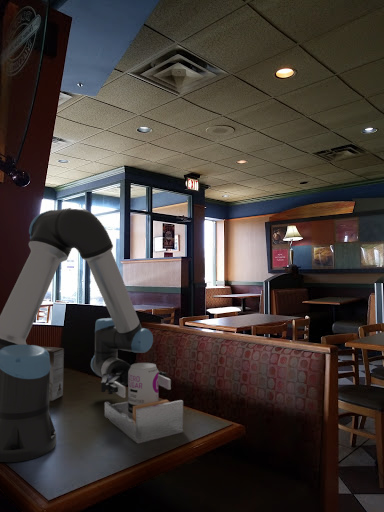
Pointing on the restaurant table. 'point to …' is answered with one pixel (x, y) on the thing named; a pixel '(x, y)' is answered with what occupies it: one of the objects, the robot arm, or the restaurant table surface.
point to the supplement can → (142, 385)
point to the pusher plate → (146, 406)
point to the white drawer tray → (147, 420)
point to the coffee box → (55, 372)
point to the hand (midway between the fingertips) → (147, 388)
